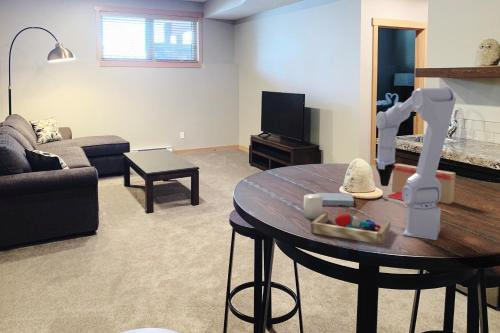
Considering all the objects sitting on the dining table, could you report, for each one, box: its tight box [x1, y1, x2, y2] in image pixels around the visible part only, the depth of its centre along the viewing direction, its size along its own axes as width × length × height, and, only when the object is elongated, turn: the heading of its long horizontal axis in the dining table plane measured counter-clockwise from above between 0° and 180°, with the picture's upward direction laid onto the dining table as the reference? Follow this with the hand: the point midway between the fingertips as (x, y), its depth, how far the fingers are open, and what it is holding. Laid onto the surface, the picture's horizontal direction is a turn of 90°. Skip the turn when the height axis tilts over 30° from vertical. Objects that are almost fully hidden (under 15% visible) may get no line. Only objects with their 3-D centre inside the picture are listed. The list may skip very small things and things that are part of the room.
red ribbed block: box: [386, 163, 456, 204], centre depth 169 cm, size 25×13×12 cm, turn 39°
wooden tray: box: [310, 211, 391, 245], centre depth 135 cm, size 21×13×3 cm, turn 61°
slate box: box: [315, 192, 355, 207], centre depth 168 cm, size 14×10×2 cm
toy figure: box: [334, 213, 382, 232], centre depth 138 cm, size 8×5×15 cm
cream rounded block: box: [303, 193, 323, 220], centre depth 151 cm, size 6×6×7 cm
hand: (384, 185), depth 151 cm, fingers closed
